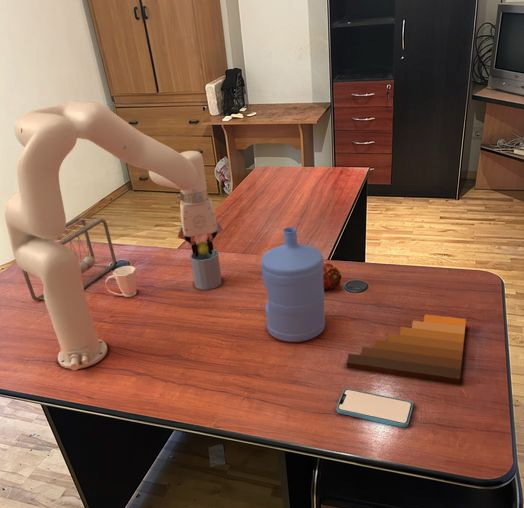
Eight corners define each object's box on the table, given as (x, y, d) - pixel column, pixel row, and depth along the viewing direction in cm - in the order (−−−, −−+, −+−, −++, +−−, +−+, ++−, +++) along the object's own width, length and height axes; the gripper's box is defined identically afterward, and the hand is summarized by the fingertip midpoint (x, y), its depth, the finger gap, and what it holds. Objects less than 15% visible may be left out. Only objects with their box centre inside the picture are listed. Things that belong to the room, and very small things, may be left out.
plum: (210, 255, 165) (209, 243, 163) (198, 258, 165) (196, 245, 163) (208, 250, 169) (207, 238, 167) (196, 252, 168) (194, 240, 166)
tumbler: (224, 286, 169) (220, 257, 164) (196, 291, 168) (192, 262, 163) (219, 274, 176) (215, 246, 171) (192, 279, 175) (188, 251, 170)
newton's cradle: (58, 307, 166) (41, 254, 157) (32, 303, 171) (14, 251, 161) (117, 265, 189) (105, 216, 180) (94, 261, 193) (81, 214, 184)
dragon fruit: (343, 296, 161) (306, 296, 167) (348, 270, 164) (311, 271, 169) (335, 283, 154) (296, 283, 160) (339, 256, 157) (301, 258, 162)
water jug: (337, 324, 146) (335, 225, 131) (298, 350, 137) (292, 248, 122) (293, 306, 155) (288, 213, 141) (254, 330, 146) (244, 233, 132)
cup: (142, 296, 168) (137, 272, 164) (109, 303, 166) (103, 279, 162) (139, 286, 174) (134, 263, 170) (107, 293, 172) (101, 270, 168)
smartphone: (407, 425, 110) (335, 409, 115) (407, 429, 111) (335, 413, 116) (413, 401, 116) (344, 387, 121) (413, 406, 116) (344, 391, 122)
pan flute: (347, 369, 128) (458, 386, 120) (346, 358, 127) (460, 374, 118) (367, 315, 148) (464, 326, 140) (367, 304, 146) (466, 315, 138)
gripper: (167, 204, 153) (178, 263, 162) (225, 195, 155) (232, 253, 165) (164, 196, 159) (175, 253, 168) (220, 187, 162) (227, 244, 171)
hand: (203, 253), depth 167 cm, fingers closed on plum, 3 cm apart
